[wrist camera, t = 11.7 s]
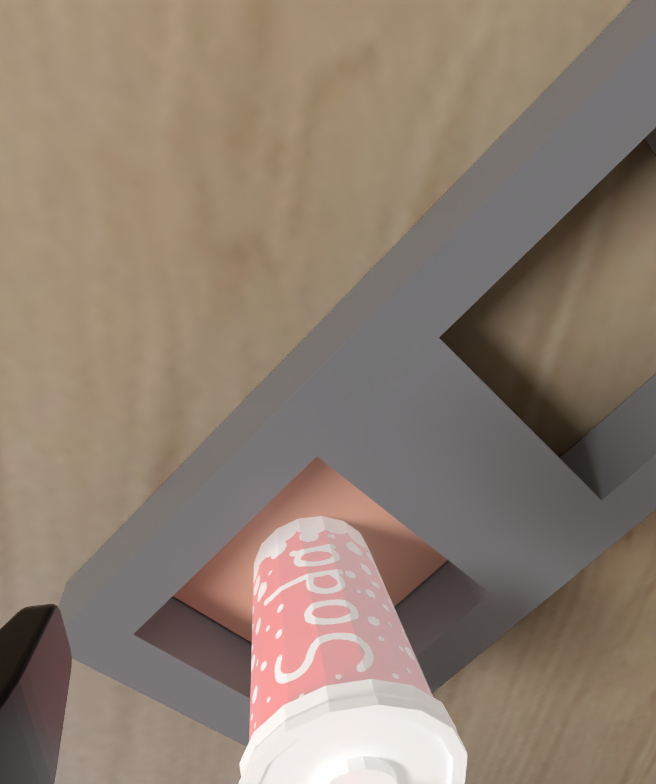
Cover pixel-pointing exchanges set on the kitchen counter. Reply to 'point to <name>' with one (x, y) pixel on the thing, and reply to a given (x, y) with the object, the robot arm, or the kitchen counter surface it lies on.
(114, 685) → the kitchen counter surface
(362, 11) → the kitchen counter surface
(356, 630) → the beverage cup
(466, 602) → the cup caddy
